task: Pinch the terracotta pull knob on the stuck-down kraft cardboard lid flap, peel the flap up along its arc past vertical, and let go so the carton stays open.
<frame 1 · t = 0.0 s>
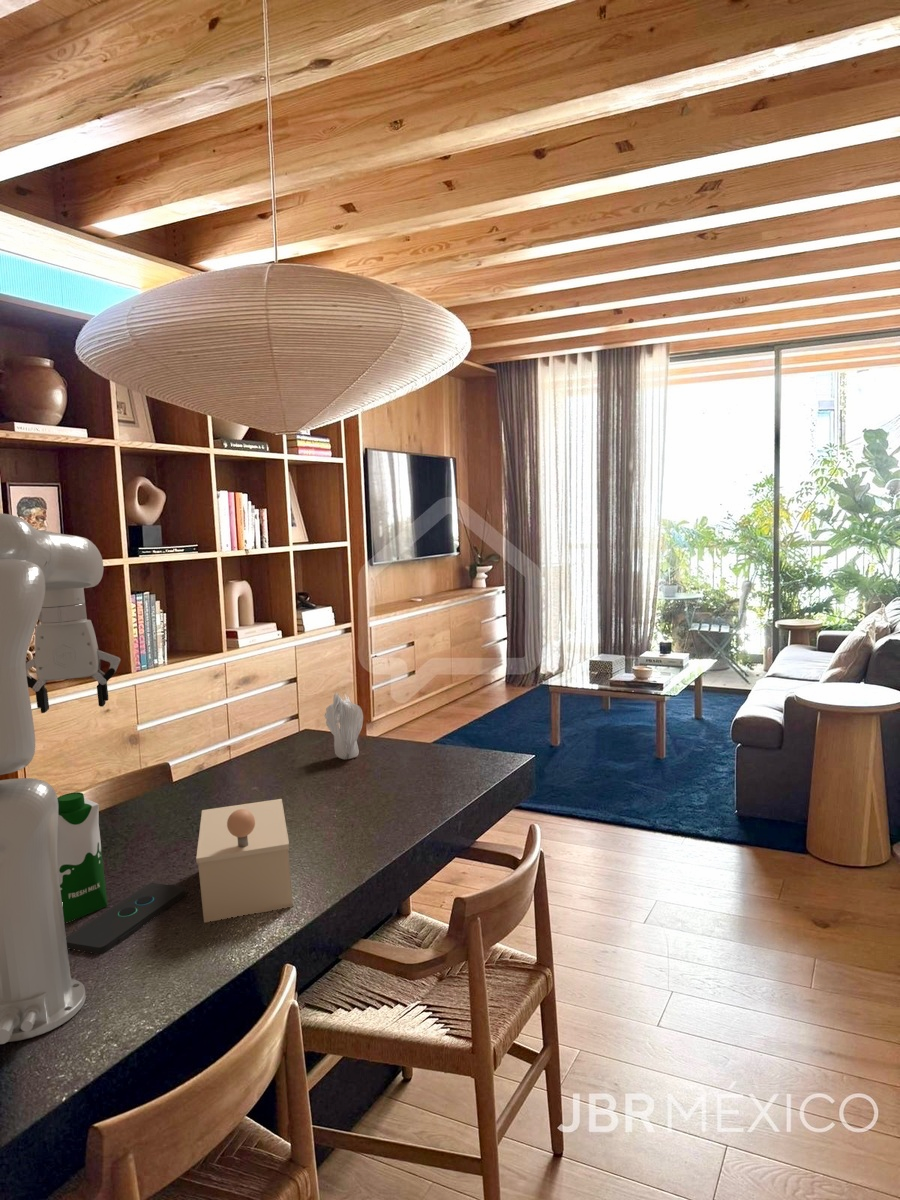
hand: (74, 708, 147), 31 cm above the table, tool pointing down, fingers open, 9 cm apart
smart home device: (129, 922, 131), on the table
lid flap: (241, 811, 139), point 13 cm above the table, hinge at 0.0°
milk carton: (77, 910, 136), on the table
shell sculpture: (346, 758, 213), on the table
carton: (248, 885, 141), on the table
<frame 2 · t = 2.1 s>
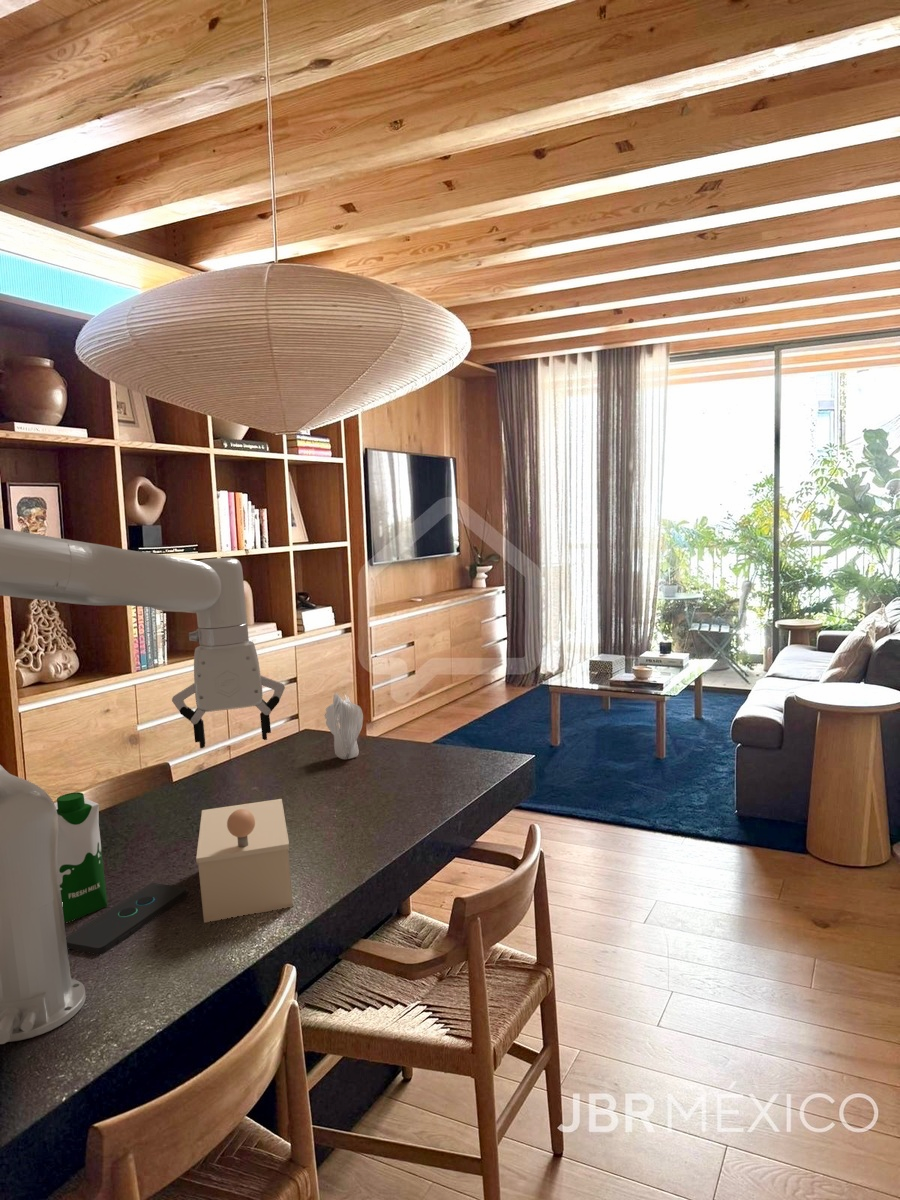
hand: (234, 741, 129), 28 cm above the table, tool pointing down, fingers open, 9 cm apart
nothing on the table moved.
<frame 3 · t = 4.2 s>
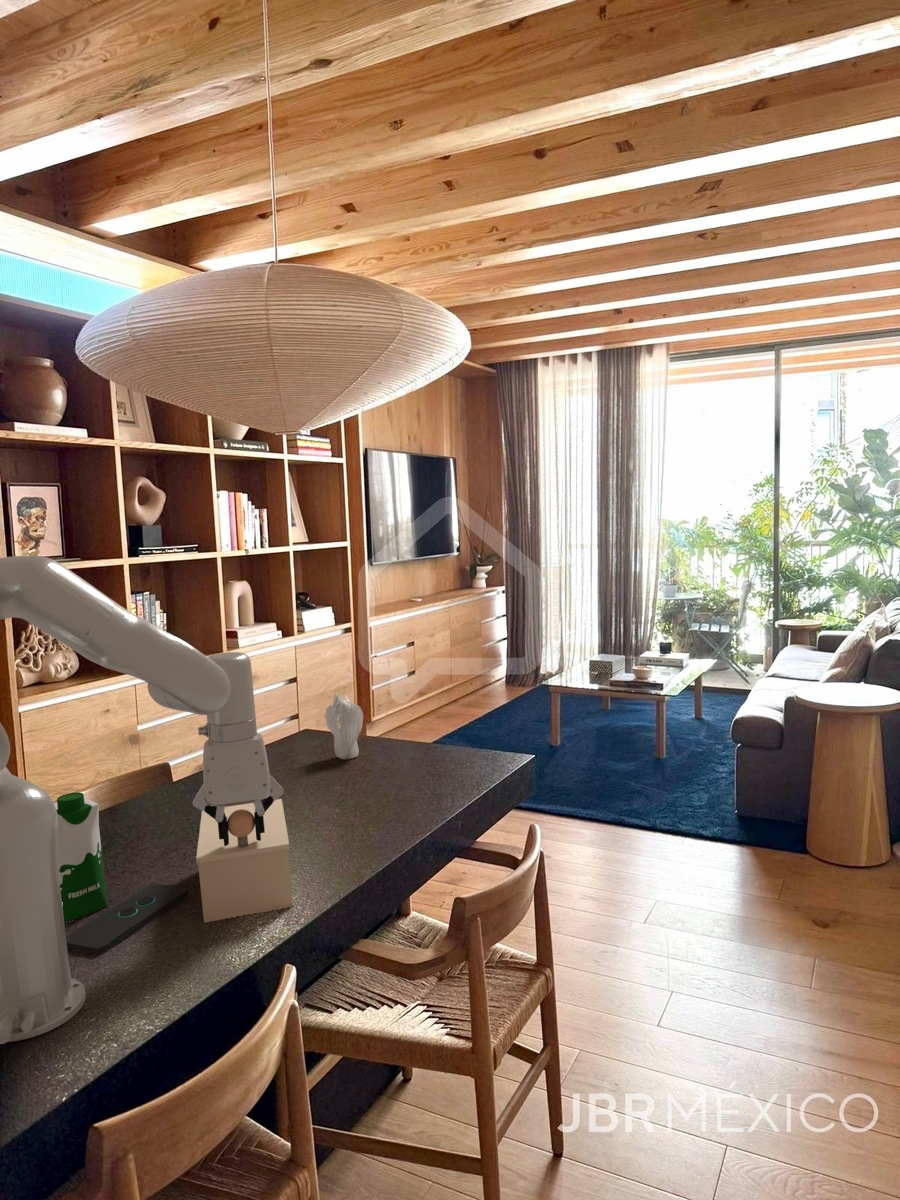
hand: (242, 838, 131), 12 cm above the table, tool pointing down, fingers closed on lid flap, 4 cm apart
lid flap: (241, 811, 139), point 13 cm above the table, hinge at 0.0°, touching gripper
everything else where it was.
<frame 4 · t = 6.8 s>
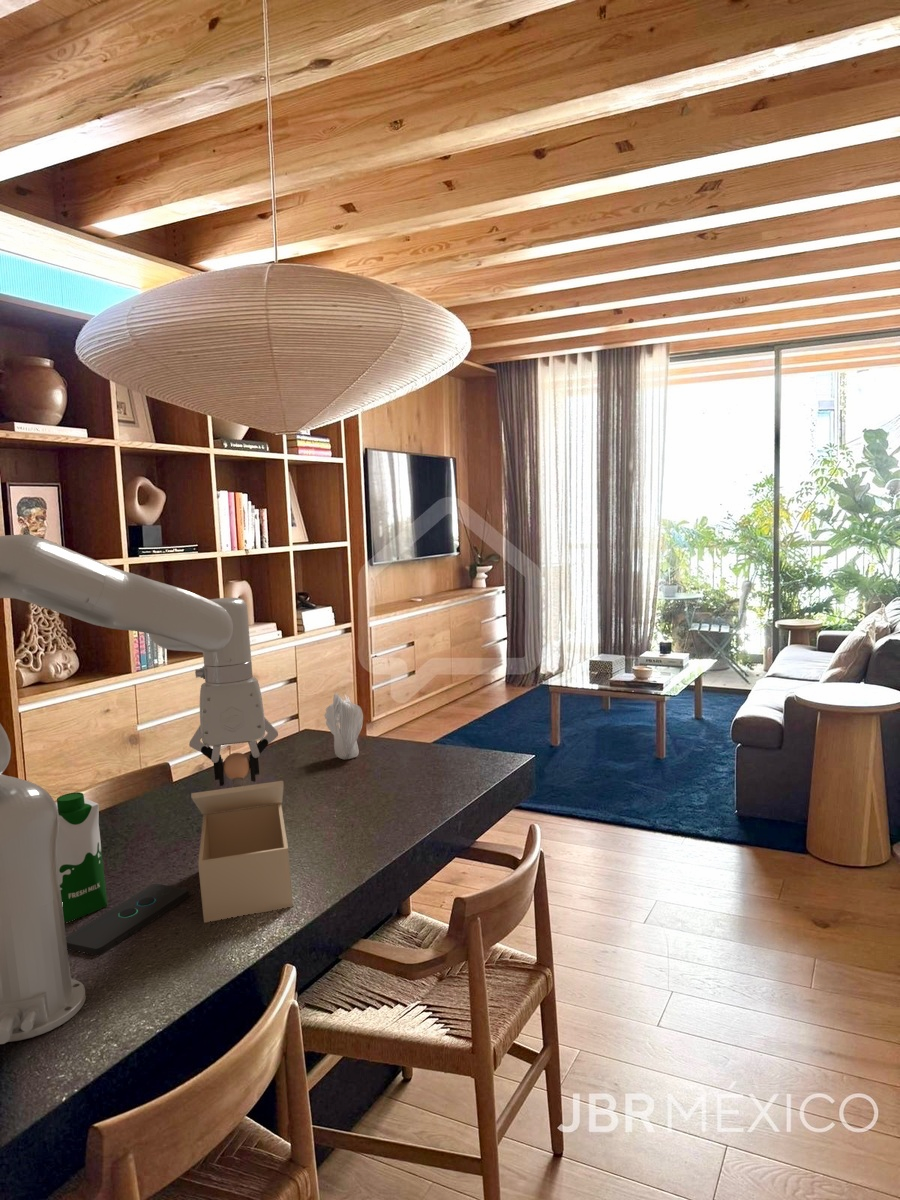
hand: (237, 780, 134), 20 cm above the table, tool pointing down, fingers closed on lid flap, 4 cm apart
lid flap: (239, 781, 141), point 18 cm above the table, hinge at 26.1°, touching gripper
everything else where it was.
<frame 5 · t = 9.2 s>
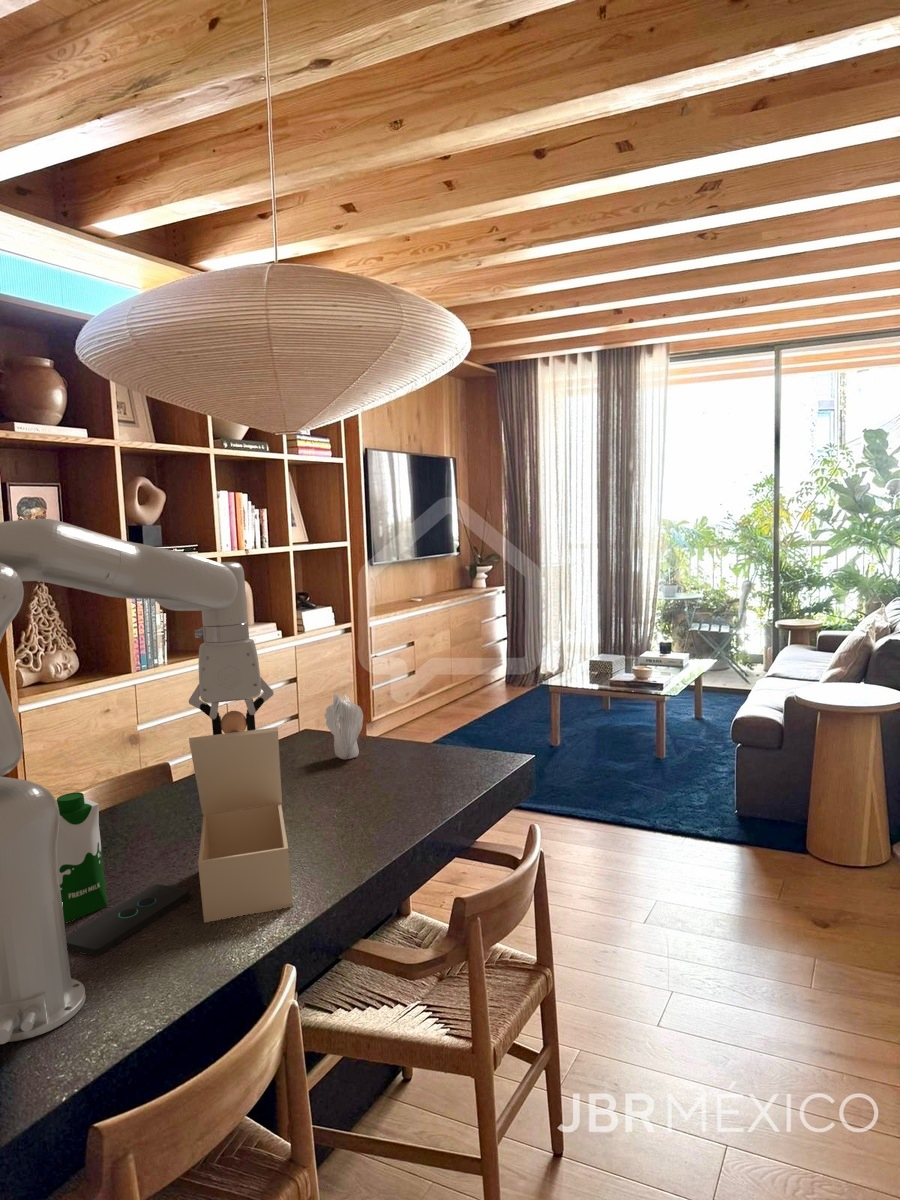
hand: (234, 736, 141), 26 cm above the table, tool pointing down, fingers closed on lid flap, 4 cm apart
lid flap: (237, 758, 145), point 21 cm above the table, hinge at 51.2°, touching gripper
everything else where it was.
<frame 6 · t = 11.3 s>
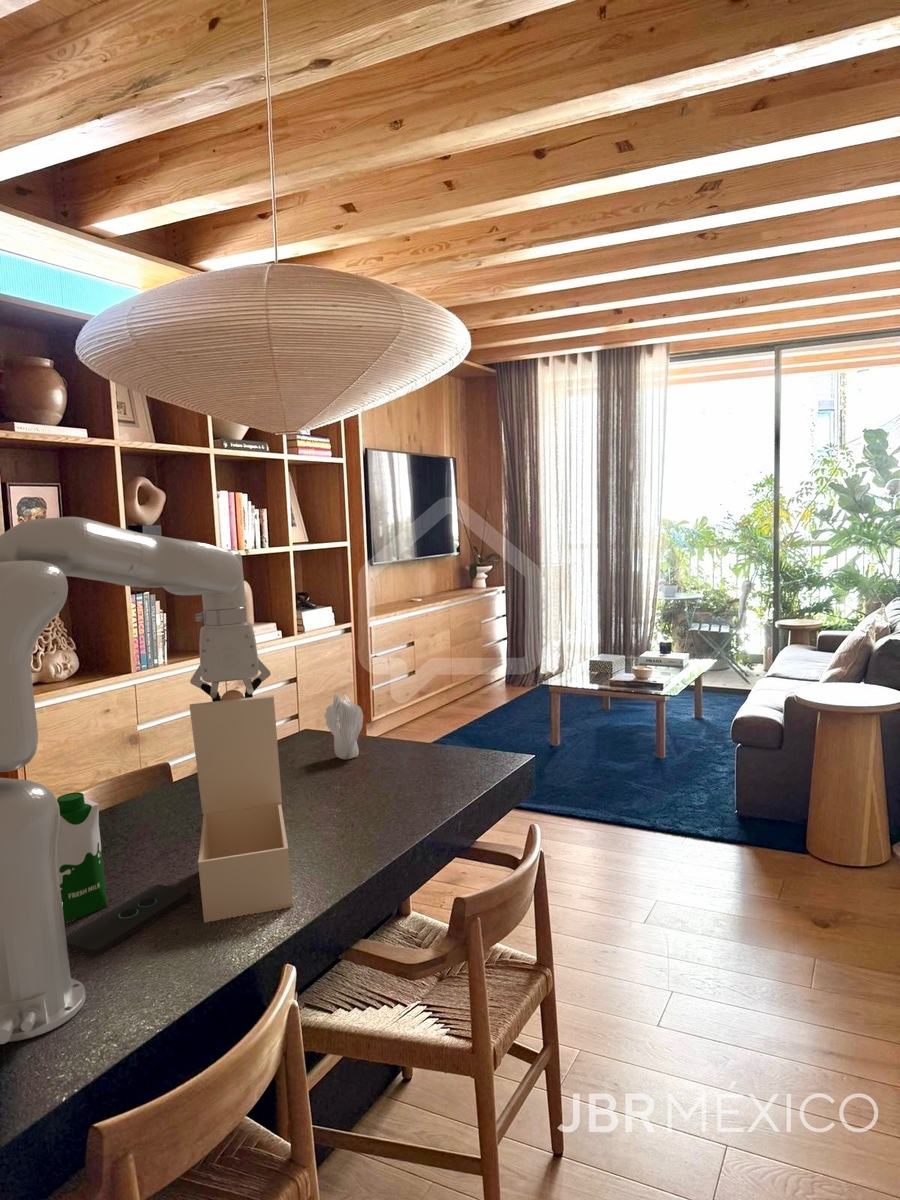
hand: (234, 715, 149), 28 cm above the table, tool pointing down, fingers closed on lid flap, 4 cm apart
lid flap: (237, 747, 150), point 22 cm above the table, hinge at 74.9°, touching gripper
everything else where it was.
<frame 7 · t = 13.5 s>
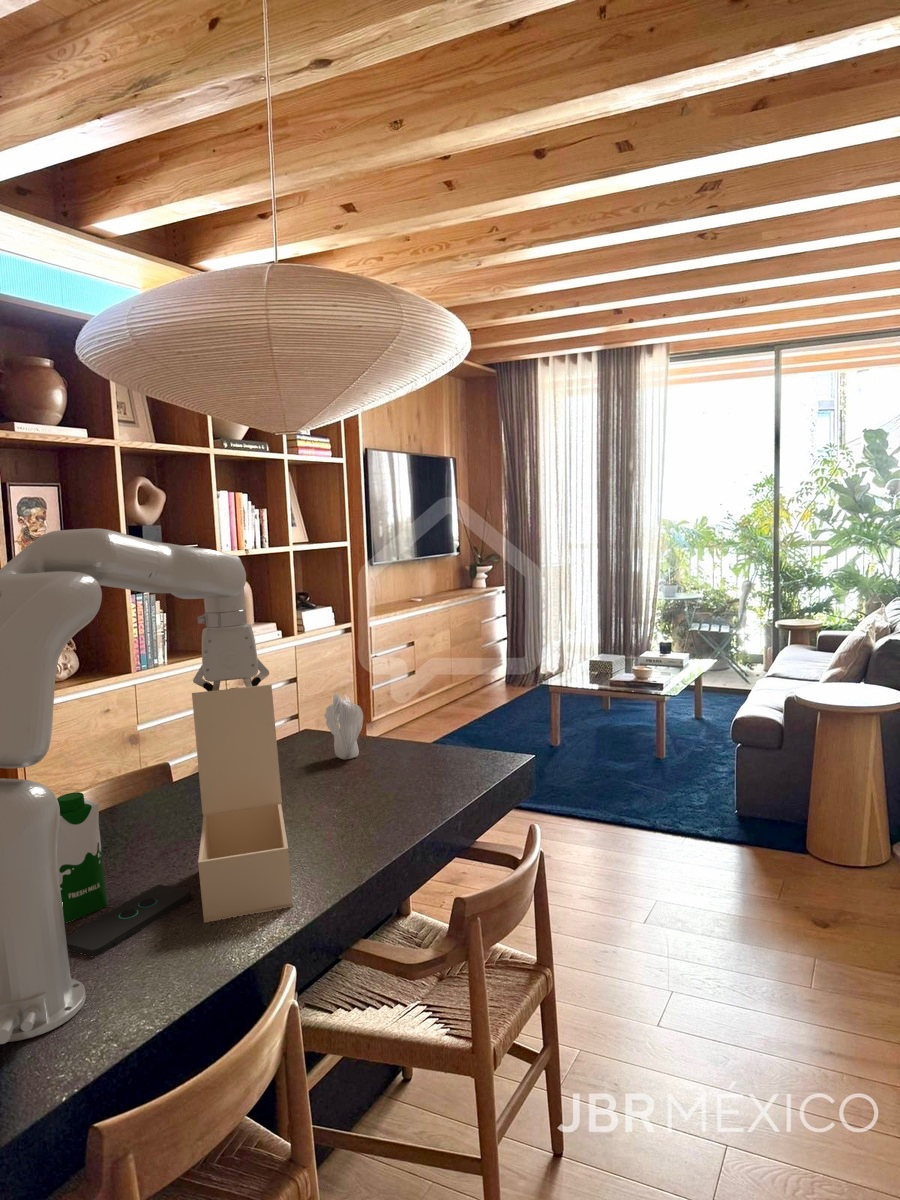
hand: (234, 712, 156), 27 cm above the table, tool pointing down, fingers closed on lid flap, 4 cm apart
lid flap: (237, 746, 154), point 21 cm above the table, hinge at 96.3°, touching gripper
everything else where it was.
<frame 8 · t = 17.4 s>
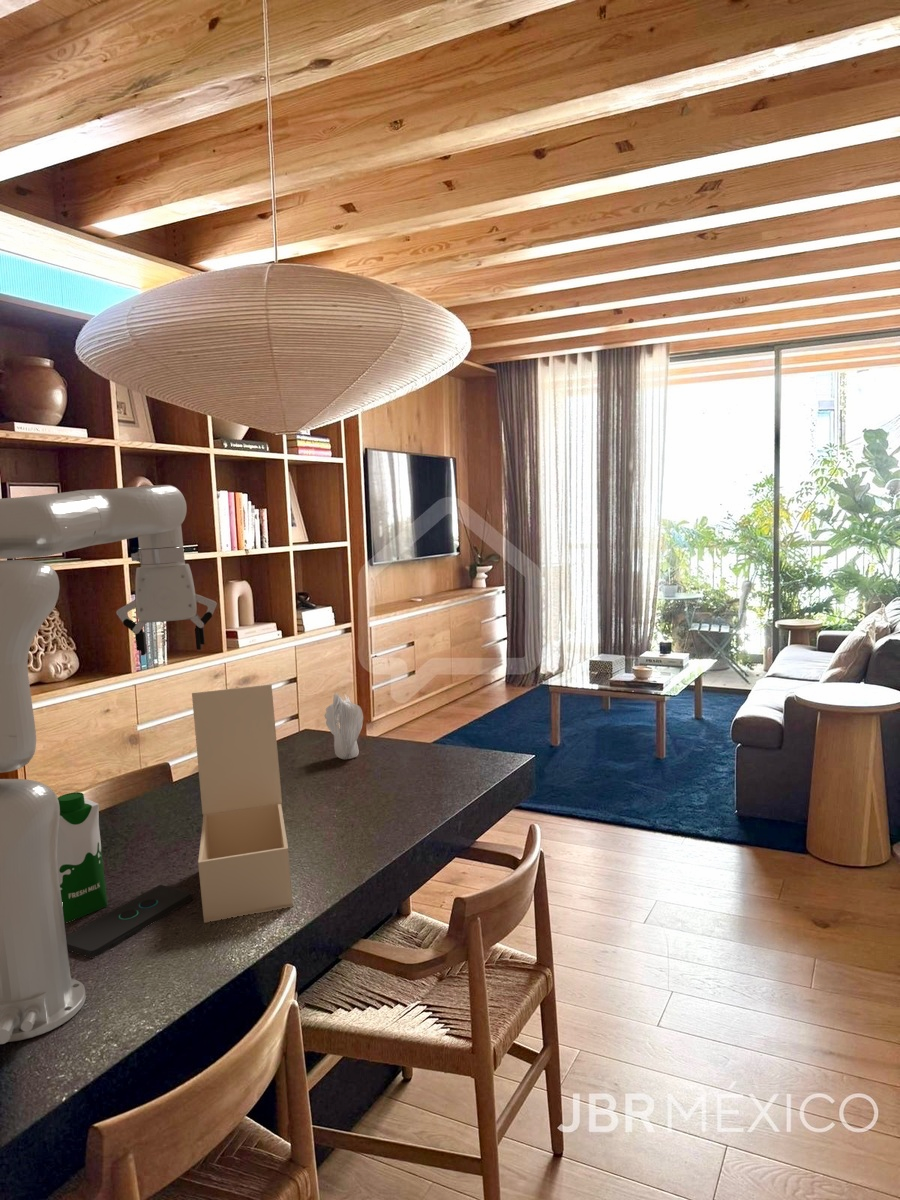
hand: (171, 651, 148), 40 cm above the table, tool pointing down, fingers open, 9 cm apart
lid flap: (237, 746, 154), point 21 cm above the table, hinge at 96.6°
at the end: lid flap at +97° (first picture: +0°); the gripper is holding nothing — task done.
